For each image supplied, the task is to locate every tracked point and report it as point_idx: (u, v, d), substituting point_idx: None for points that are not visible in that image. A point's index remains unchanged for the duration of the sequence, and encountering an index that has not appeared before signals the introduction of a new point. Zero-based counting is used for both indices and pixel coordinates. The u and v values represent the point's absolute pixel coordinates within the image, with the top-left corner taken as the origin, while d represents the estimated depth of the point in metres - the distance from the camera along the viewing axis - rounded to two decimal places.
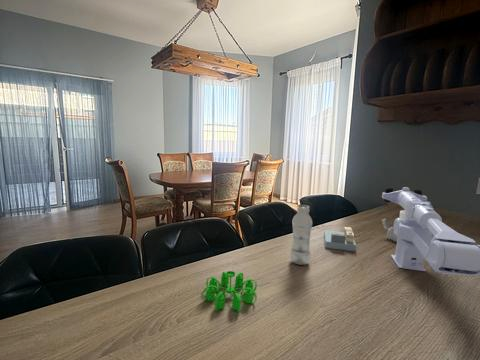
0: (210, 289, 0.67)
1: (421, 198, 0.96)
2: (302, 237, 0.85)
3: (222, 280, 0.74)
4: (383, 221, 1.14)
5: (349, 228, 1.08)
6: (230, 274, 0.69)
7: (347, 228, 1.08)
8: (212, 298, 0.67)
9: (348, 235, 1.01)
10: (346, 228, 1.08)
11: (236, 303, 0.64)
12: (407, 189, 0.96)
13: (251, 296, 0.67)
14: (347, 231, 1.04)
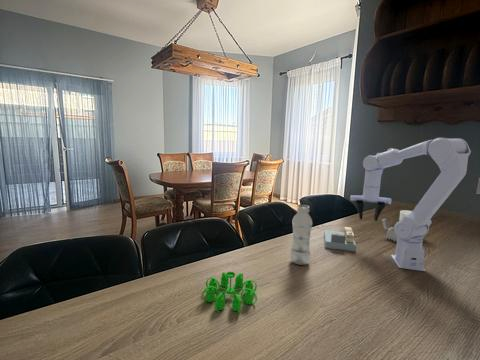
0: (210, 290, 0.67)
1: None
2: (302, 237, 0.85)
3: (222, 281, 0.74)
4: (383, 221, 1.14)
5: (349, 228, 1.08)
6: (230, 275, 0.69)
7: (347, 228, 1.08)
8: (212, 299, 0.67)
9: (348, 235, 1.01)
10: (346, 228, 1.08)
11: (236, 304, 0.63)
12: None
13: (251, 297, 0.66)
14: (347, 231, 1.04)
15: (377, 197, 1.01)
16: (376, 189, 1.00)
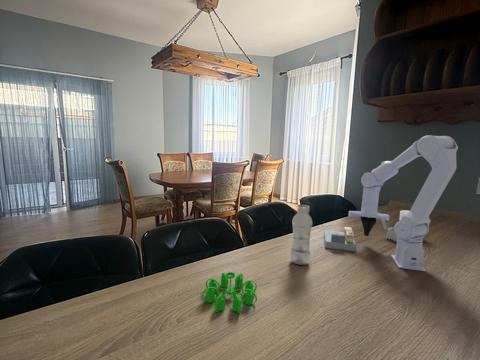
0: (210, 291, 0.67)
1: None
2: (302, 237, 0.85)
3: (222, 281, 0.73)
4: (383, 221, 1.14)
5: (349, 228, 1.08)
6: (230, 275, 0.69)
7: (347, 228, 1.08)
8: (212, 300, 0.67)
9: (348, 235, 1.01)
10: (346, 228, 1.08)
11: (236, 305, 0.63)
12: None
13: (251, 297, 0.66)
14: (347, 231, 1.04)
15: (375, 214, 1.02)
16: (374, 206, 1.01)
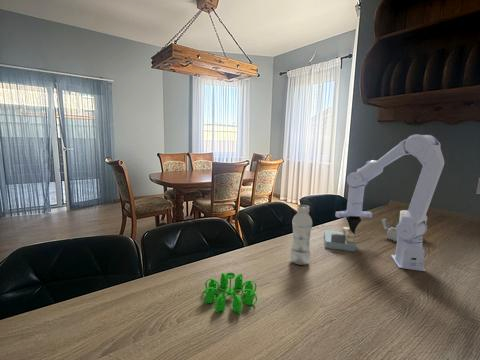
0: (210, 291, 0.66)
1: None
2: (302, 237, 0.85)
3: (221, 281, 0.73)
4: (383, 221, 1.14)
5: (348, 228, 1.08)
6: (230, 275, 0.68)
7: (346, 228, 1.08)
8: (212, 300, 0.66)
9: (348, 235, 1.01)
10: (345, 228, 1.08)
11: (237, 305, 0.63)
12: None
13: (251, 297, 0.66)
14: (347, 231, 1.04)
15: (361, 212, 1.04)
16: (361, 205, 1.03)
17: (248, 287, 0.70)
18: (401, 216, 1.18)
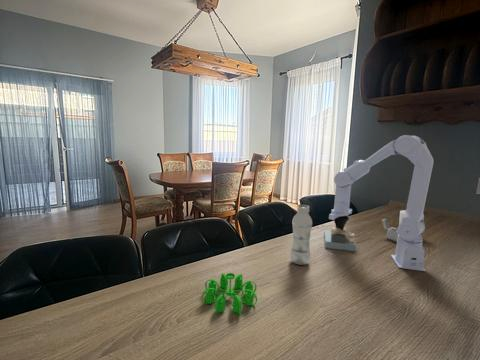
0: (210, 292, 0.66)
1: None
2: (302, 237, 0.85)
3: (221, 282, 0.73)
4: (383, 221, 1.14)
5: (337, 228, 1.07)
6: (230, 276, 0.68)
7: (336, 229, 1.07)
8: (212, 301, 0.66)
9: (351, 236, 1.01)
10: (336, 229, 1.06)
11: (237, 306, 0.63)
12: (334, 209, 1.09)
13: (251, 298, 0.66)
14: (343, 232, 1.03)
15: None
16: (349, 203, 1.05)
17: (248, 287, 0.70)
18: (401, 216, 1.18)
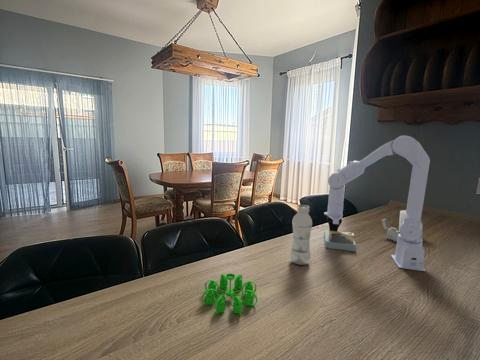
0: (210, 292, 0.66)
1: None
2: (302, 237, 0.85)
3: (221, 283, 0.73)
4: (383, 221, 1.14)
5: (333, 231, 1.04)
6: (230, 277, 0.68)
7: (334, 232, 1.03)
8: (212, 302, 0.66)
9: None
10: (334, 232, 1.02)
11: (237, 306, 0.62)
12: (325, 212, 1.05)
13: (252, 298, 0.66)
14: (344, 233, 1.02)
15: None
16: None
17: (248, 288, 0.69)
18: (401, 216, 1.18)
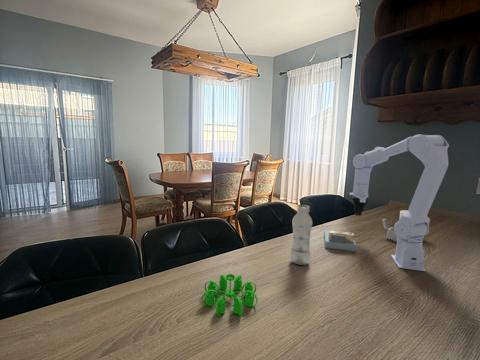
0: (210, 293, 0.65)
1: None
2: (302, 237, 0.85)
3: (220, 283, 0.72)
4: (383, 221, 1.14)
5: (333, 231, 1.04)
6: (230, 277, 0.68)
7: (334, 232, 1.03)
8: (212, 303, 0.66)
9: None
10: (334, 232, 1.02)
11: (237, 307, 0.62)
12: (351, 193, 1.10)
13: (252, 299, 0.65)
14: (344, 233, 1.02)
15: None
16: None
17: (248, 288, 0.69)
18: None
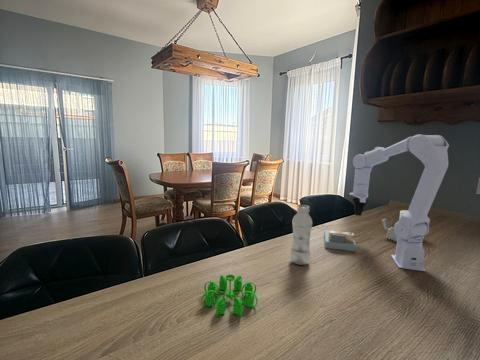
0: (210, 294, 0.65)
1: None
2: (302, 237, 0.85)
3: (220, 284, 0.72)
4: (383, 221, 1.14)
5: (333, 231, 1.04)
6: (230, 278, 0.67)
7: (334, 232, 1.03)
8: (212, 303, 0.65)
9: None
10: (334, 232, 1.02)
11: (238, 308, 0.62)
12: (351, 193, 1.10)
13: (252, 300, 0.65)
14: (344, 233, 1.02)
15: None
16: None
17: (248, 289, 0.69)
18: None
